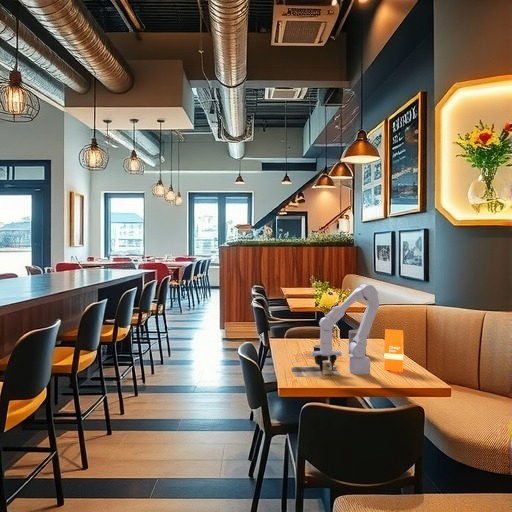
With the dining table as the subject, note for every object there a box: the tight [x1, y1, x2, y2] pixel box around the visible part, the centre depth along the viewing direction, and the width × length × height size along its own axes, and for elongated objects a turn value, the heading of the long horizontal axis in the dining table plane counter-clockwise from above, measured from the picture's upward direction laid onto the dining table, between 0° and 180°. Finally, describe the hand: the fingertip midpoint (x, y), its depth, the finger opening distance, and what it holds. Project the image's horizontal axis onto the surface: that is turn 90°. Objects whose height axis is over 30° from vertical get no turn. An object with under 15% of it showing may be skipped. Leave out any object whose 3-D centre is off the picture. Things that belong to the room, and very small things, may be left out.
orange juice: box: [383, 328, 404, 373], centre depth 230 cm, size 8×9×20 cm
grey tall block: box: [348, 328, 367, 356], centre depth 263 cm, size 10×10×15 cm
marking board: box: [290, 365, 342, 378], centre depth 217 cm, size 22×12×3 cm, turn 94°
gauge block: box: [322, 360, 332, 374], centre depth 217 cm, size 4×8×5 cm, turn 4°
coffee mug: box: [312, 344, 330, 365], centre depth 237 cm, size 12×9×10 cm
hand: (326, 371), depth 218 cm, fingers closed on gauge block, 4 cm apart
